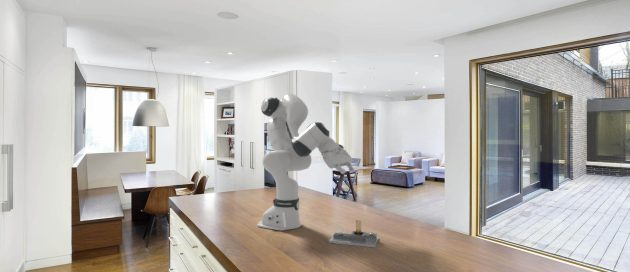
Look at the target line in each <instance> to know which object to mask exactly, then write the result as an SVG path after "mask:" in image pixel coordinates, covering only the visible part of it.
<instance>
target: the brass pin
mask: <svg viewBox="0 0 630 272" xmlns="http://www.w3.org/2000/svg"><path fill="white" fill-rule="evenodd" d="M355 231H356V235H361V232H362V220H361V219H357V220H355Z"/></svg>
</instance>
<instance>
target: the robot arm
mask: <svg viewBox="0 0 630 272" xmlns="http://www.w3.org/2000/svg"><path fill="white" fill-rule="evenodd" d="M260 108H261V113H262V114H263V115H264V116H266V117H269V118H272V119H270V120H268V122H267V123H266V134H267V136H268V137H267V138H268V141H269V143H270V146H271V149H272V150H270V151H268V152H266V153H264V155H263V157H262V165H263V168H264V169H265V171H267V172H268V173H269V174H270V175H271V176H272V177H273V179H274V181H275V187H276V197H275V198H274V199H273V200H272V201H271V203H272V204H273V205H271V206H270V207H269V208H268V209H266V210H265V212H263V214H262V217H261V220H259V222H258V223H257V225H256V226H257V227H258V228H264V229H270V230H276V231H286V230H287V231H288V230H293V229H299V228H300V227H301V226H302V223H301V218H300V198H299V183H298V181H297V180H295V179H294V178H291V177H290V176H289V173H288V172H297V171H298V172H300V171H305V170H307V169H309V168H310V166H311V164H312V156H311V153H312V152H313V151H314V150H315V149H318V151H319V152H320V153H321V154H320V155H321V156H322V160H323V162H324V163H325V165H326V166H327V167H328V168H329V169H335V170H337V171H338V172H339V173H341V175H344V174H346V170H345V168H342V167H347V168H348V170H349V172H354V171H355V168H354V167H353V165H352V162H353V158H352V156H351V155H350V154H349V152H348V151H347V150H346V149H345V146H344V145H342V144H339V143H338V142H336V141H335V140H334V139H333V138H331V136H330V131H329V129H327V128H326V126H325V125H324V124H323V123H322V122H316V121H315V122H313V123H310V124H309V125H307V127H306V129H305V130H304V131H303V132H302V133H300V134H299V130H300V128H301V126H302V124H303V123H304V122H305V121H306V119H307V117H308V115H309V109H308V106H307V105H306V104H305V101H303V99H302V98H300V97H299V96H298V95H296V94H294V93H288V94H287V93H286V94H285V95H284V96H283V97H282V99H279V98H278V97H267V98H265V99H264V100H263V101H262V103H261V107H260Z"/></svg>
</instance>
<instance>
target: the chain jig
mask: <svg viewBox="0 0 630 272" xmlns="http://www.w3.org/2000/svg"><path fill="white" fill-rule="evenodd" d="M378 240H379V236H378V233H375V232H367V231H361V235H356V230H353V231H352V232H351V233H346V232H342V231H341V232H334V233H333V235H332V236H331V237H330V239H329V240H328V244H329V243H330V244H340V245H348V246H349V245H350V246H355V247H356V246H357V247H358V246H359V247H367V248H376V247H377V246H376V245H377V243H378Z"/></svg>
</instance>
